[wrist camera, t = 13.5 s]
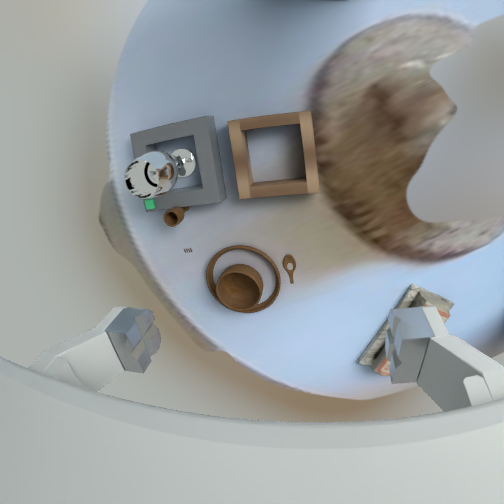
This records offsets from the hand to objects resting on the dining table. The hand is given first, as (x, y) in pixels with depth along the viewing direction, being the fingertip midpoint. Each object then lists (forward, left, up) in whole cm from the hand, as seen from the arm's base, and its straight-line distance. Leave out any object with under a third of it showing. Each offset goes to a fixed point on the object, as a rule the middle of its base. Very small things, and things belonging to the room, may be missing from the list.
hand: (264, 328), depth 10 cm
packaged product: (+29, +17, -35) cm, 49 cm away
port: (-3, -17, -35) cm, 39 cm away
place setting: (+13, -11, -35) cm, 39 cm away
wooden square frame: (-2, -3, -35) cm, 35 cm away
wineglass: (-3, -17, -35) cm, 39 cm away
